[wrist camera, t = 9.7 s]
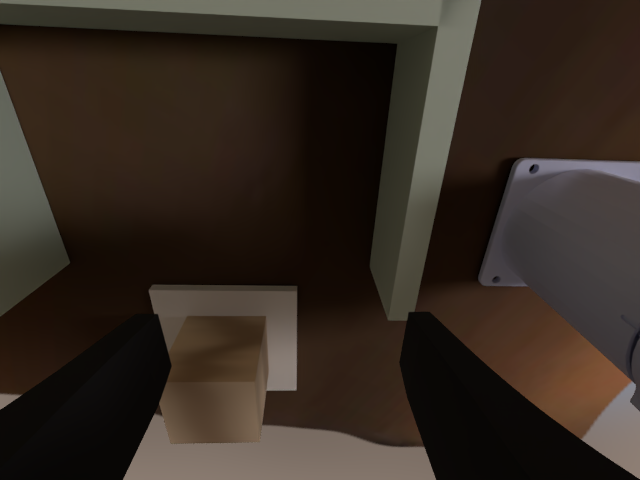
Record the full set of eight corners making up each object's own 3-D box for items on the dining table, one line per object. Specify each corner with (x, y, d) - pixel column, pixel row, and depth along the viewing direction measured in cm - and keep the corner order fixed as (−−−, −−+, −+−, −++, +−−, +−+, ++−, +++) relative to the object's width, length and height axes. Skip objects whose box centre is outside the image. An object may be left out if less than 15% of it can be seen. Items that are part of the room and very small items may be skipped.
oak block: (266, 316, 20) (254, 381, 16) (268, 371, 23) (259, 442, 18) (187, 315, 20) (153, 382, 16) (197, 371, 22) (170, 443, 18)
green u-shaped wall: (428, 13, 14) (485, -20, 10) (388, 266, 20) (412, 320, 15) (-62, -14, 13) (-255, -65, 8) (49, 262, 19) (-32, 319, 14)
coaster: (297, 285, 20) (297, 291, 20) (296, 383, 24) (296, 390, 24) (152, 284, 20) (148, 290, 19) (176, 384, 24) (173, 391, 23)
